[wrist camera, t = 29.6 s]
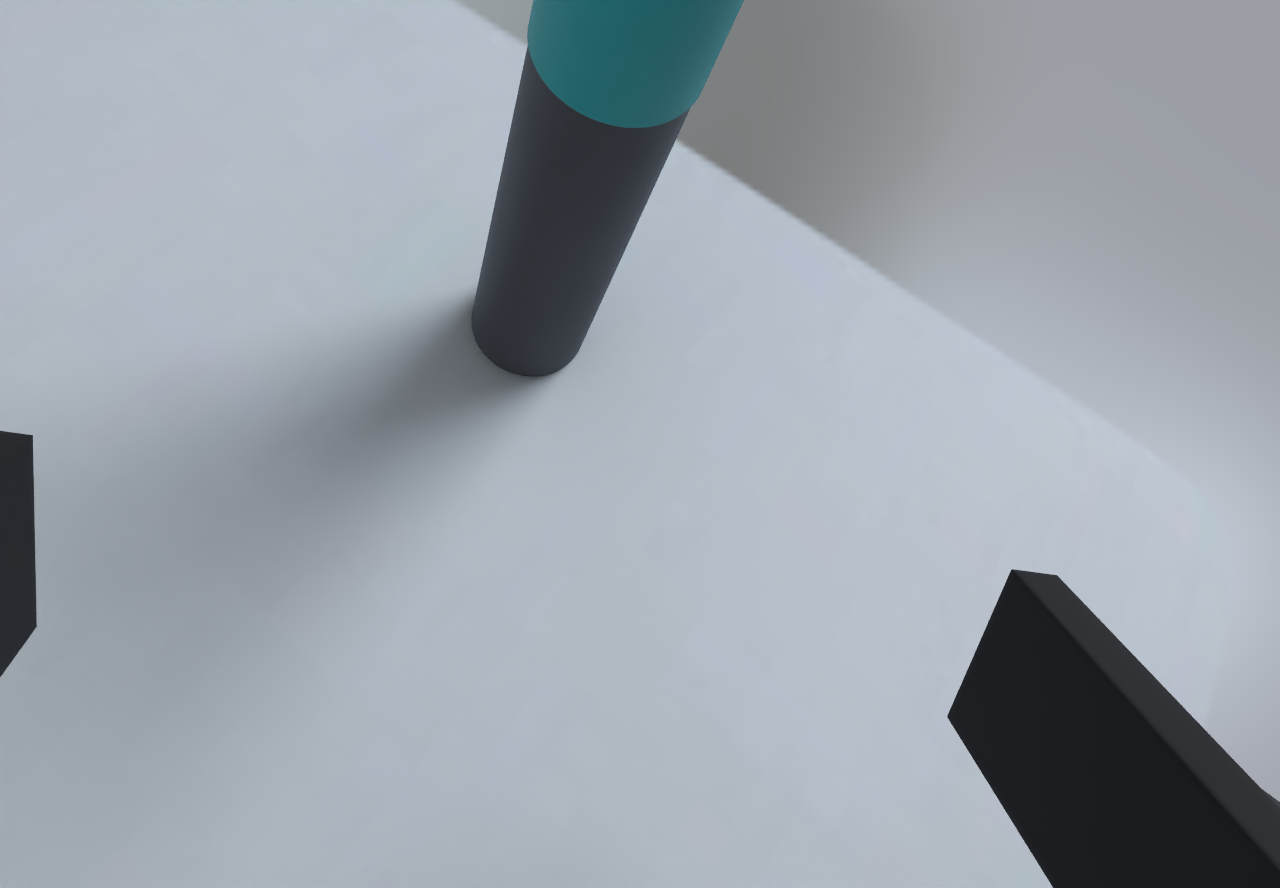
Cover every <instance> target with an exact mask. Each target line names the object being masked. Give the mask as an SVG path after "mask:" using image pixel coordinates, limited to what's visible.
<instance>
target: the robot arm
mask: <svg viewBox="0 0 1280 888" xmlns="http://www.w3.org/2000/svg"><path fill="white" fill-rule="evenodd" d="M36 627H37V624H36V575H35V527H34V478H33V435H26V434H19V433H11V432H4V431H0V677H1V675H2V674H3V673H4V671H5V670H6V668H7V667H8V666H9V664H10V663H11V661H12V660H13V659H14V657H15V656H16V655H17V653H18V652H19V650H20V649H21V648H22V646H23V645H24V643H25V642H26V641H27V639H28V638H29V636H30V635H31V634H32V632H33V631H34V630H35V628H36ZM947 717H948V719H949V720H950V722H951V724H952V725H953V727H954V728H955V730H956V732H957V733H958V735H959V737H960V738H961V740H962V741H963V743H964V745H965V746H966V748H967V749H968V751H969V753H970V754H971V756H972V757H973V759H974V761H975V762H976V764H977V766H978V767H979V769H980V770H981V772H982V774H983V775H984V777H985V778H986V780H987V782H988V783H989V785H990V786H991V788H992V790H993V791H994V793H995V795H996V796H997V798H998V799H999V801H1000V803H1001V804H1002V806H1003V807H1004V809H1005V811H1006V812H1007V814H1008V816H1009V817H1010V819H1011V820H1012V822H1013V824H1014V825H1015V827H1016V828H1017V830H1018V832H1019V833H1020V835H1021V836H1022V838H1023V840H1024V841H1025V843H1026V845H1027V846H1028V848H1029V849H1030V851H1031V853H1032V854H1033V856H1034V857H1035V859H1036V861H1037V862H1038V864H1039V865H1040V867H1041V869H1042V870H1043V872H1044V874H1045V875H1046V877H1047V878H1048V880H1049V882H1050V883H1051V885H1052V886H1053V888H1280V802H1279V801H1277V800H1276V799H1275V798H1273V797H1272V796H1271V795H1269V794H1268V793H1266V792H1265V791H1264V790H1262V789H1261V788H1260V787H1259V786H1258V785H1257V784H1256V783H1255V782H1254V781H1253V780H1252V779H1251V778H1250V777H1249V776H1248V774H1247V773H1246V772H1244V770H1243V769H1242V768H1241V767H1240V766H1239V765H1238V764H1237V763H1236V762H1235V761H1234V760H1233V759H1232V758H1231V757H1230V756H1229V755H1228V754H1227V753H1226V752H1225V750H1224V749H1223V748H1222V747H1221V746H1220V745H1219V744H1218V743H1217V742H1216V741H1215V740H1214V739H1213V738H1212V737H1211V736H1210V735H1209V734H1208V733H1207V732H1206V731H1205V730H1204V728H1203V727H1202V726H1201V725H1200V724H1199V723H1198V722H1197V721H1196V720H1195V719H1194V718H1193V717H1192V716H1191V715H1190V714H1189V713H1188V712H1187V711H1186V710H1185V709H1184V708H1183V707H1182V705H1181V704H1180V703H1179V702H1178V701H1177V700H1176V699H1175V698H1174V697H1173V696H1172V695H1171V694H1170V693H1169V692H1168V691H1167V690H1166V689H1165V688H1164V687H1163V686H1162V685H1161V684H1160V682H1159V681H1158V680H1157V679H1156V678H1155V677H1154V676H1153V675H1152V674H1151V673H1150V672H1149V671H1148V670H1147V669H1146V668H1145V667H1144V666H1143V665H1142V664H1141V663H1140V662H1139V661H1138V659H1137V658H1136V657H1135V656H1134V655H1133V654H1132V653H1131V652H1130V651H1129V650H1128V649H1127V648H1126V647H1125V646H1124V645H1123V644H1122V643H1121V642H1120V641H1119V640H1118V639H1117V638H1116V637H1115V635H1114V634H1113V633H1112V632H1111V631H1110V630H1109V629H1108V628H1107V627H1106V626H1105V625H1104V624H1103V623H1102V622H1101V621H1100V620H1099V619H1098V618H1097V617H1096V616H1095V615H1094V614H1093V612H1092V611H1091V610H1090V609H1089V608H1088V607H1087V606H1086V605H1085V604H1084V603H1083V602H1082V601H1081V600H1080V599H1079V598H1078V597H1077V596H1076V595H1075V594H1074V593H1073V592H1072V591H1071V589H1070V588H1069V587H1068V586H1067V585H1066V584H1065V583H1064V582H1063V581H1062V580H1061V579H1060V578H1059V577H1058V576H1057V575H1050V574H1042V573H1035V572H1028V571H1020V570H1013V569H1012V570H1011V572H1010V574H1009V576H1008V579H1007V581H1006V583H1005V586H1004V588H1003V590H1002V592H1001V595H1000V597H999V599H998V602H997V604H996V606H995V608H994V611H993V613H992V615H991V618H990V620H989V622H988V625H987V627H986V629H985V631H984V634H983V636H982V638H981V641H980V643H979V645H978V647H977V650H976V652H975V654H974V657H973V659H972V661H971V663H970V666H969V668H968V670H967V673H966V675H965V677H964V679H963V682H962V684H961V686H960V689H959V691H958V693H957V695H956V698H955V700H954V702H953V705H952V707H951V709H950V711H949V714H948V716H947Z"/></svg>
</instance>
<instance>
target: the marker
mask: <svg viewBox="0 0 1280 888" xmlns="http://www.w3.org/2000/svg"><path fill="white" fill-rule="evenodd" d="M743 1H744V0H533V5H532V10H531V15H530V20H529V25H528V36H527V39H528V47H527V52H526V57H525V61H524V66H523V71H522V76H521V81H520V85H519V90H518V95H517V100H516V105H515V110H514V114H513V119H512V124H511V129H510V134H509V138H508V143H507V148H506V153H505V158H504V162H503V167H502V172H501V177H500V182H499V186H498V191H497V196H496V201H495V206H494V211H493V215H492V220H491V225H490V230H489V235H488V239H487V244H486V249H485V254H484V259H483V263H482V268H481V273H480V278H479V283H478V287H477V292H476V297H475V302H474V307H473V312H472V329H473V334H474V337H475V339H476V342H477V343H478V345H479V347H480V348H481V350H482V351H483V353H484V354H485V355H486V356H487V357H488V358H489V359H490V360H491V361H493V362H494V363H495V364H496V365H498V366H499V367H501V368H503V369H505V370H507V371H509V372H512V373H515V374H520V375H526V376H539V375H545V374H549V373H552V372H555V371H557V370H559V369H561V368H562V367H564V366H565V365H567V364H568V363H569V362H570V361H571V360H572V359H573V358H574V357H575V355H576V354H577V352H578V351H579V349H580V347H581V344H582V342H583V340H584V338H585V336H586V334H587V331H588V329H589V327H590V325H591V323H592V321H593V318H594V316H595V314H596V312H597V310H598V307H599V305H600V303H601V301H602V299H603V297H604V294H605V292H606V290H607V288H608V286H609V284H610V281H611V279H612V277H613V275H614V273H615V271H616V268H617V266H618V264H619V262H620V260H621V257H622V255H623V253H624V251H625V249H626V247H627V244H628V242H629V240H630V238H631V236H632V234H633V231H634V229H635V227H636V225H637V223H638V220H639V218H640V216H641V214H642V212H643V210H644V207H645V205H646V203H647V201H648V199H649V197H650V194H651V192H652V190H653V188H654V186H655V183H656V181H657V179H658V177H659V175H660V173H661V170H662V168H663V166H664V164H665V162H666V160H667V157H668V155H669V153H670V151H671V149H672V147H673V144H674V142H675V140H676V138H677V136H678V133H679V131H680V129H681V127H682V125H683V122H684V120H685V118H686V116H687V114H688V111H689V110H690V107H691V106H692V105H693V104H694V102H695V101H696V100H697V99H698V97H699V95H700V93H701V91H702V89H703V87H704V85H705V83H706V81H707V79H708V76H709V74H710V72H711V70H712V68H713V66H714V64H715V61H716V59H717V57H718V55H719V53H720V50H721V48H722V46H723V44H724V42H725V40H726V38H727V36H728V33H729V31H730V29H731V27H732V25H733V23H734V20H735V18H736V16H737V14H738V12H739V10H740V8H741V5H742V3H743Z"/></svg>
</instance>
